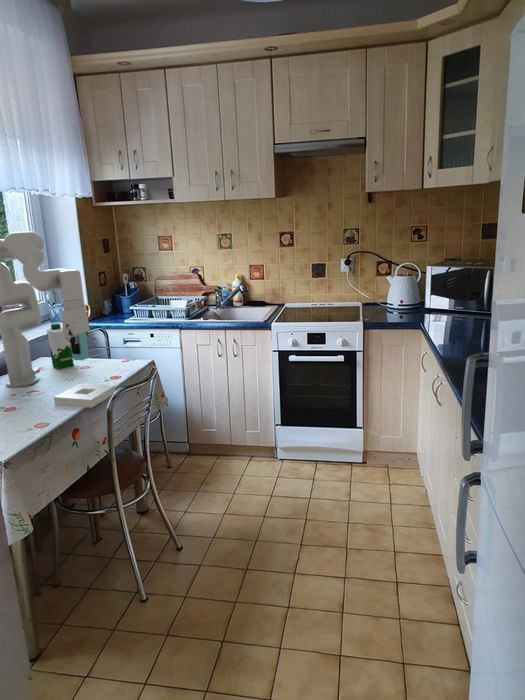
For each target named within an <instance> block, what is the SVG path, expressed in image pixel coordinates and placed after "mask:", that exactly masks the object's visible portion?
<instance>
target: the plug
mask: <svg viewBox="0 0 525 700" xmlns="http://www.w3.org/2000/svg"><path fill="white" fill-rule="evenodd" d="M73 338H74V339H75V337H73ZM87 338H88V336H87V337H86V332H83V333H81V334H79V335H78V343H79V346H80V354H72V356H73V361H84V360H87V359H89V358H90V353H89V346H88V339H87Z"/></svg>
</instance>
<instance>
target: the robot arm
mask: <svg viewBox="0 0 525 700" xmlns="http://www.w3.org/2000/svg"><path fill="white" fill-rule="evenodd" d="M44 246H45V243H44V238H43V237H42V235H41V234H40V233H38V232H36V231H31V230H30V231H15V232H14V231H13V232H11V233H8V234H6V236H4V238H0V307H1V308H2V307H3V308H7V307H13V306H20V305H21V307H19V308H18V307H17V308H11V309H6V310H4V311H1V312H0V338H1V341H2V346H3V352H4V356H5V357H4V358H5V363H6V369H7V375H8V380H7V381H5V386H6V387H8V388H22V387H23V388H24V387H28V386H31V385H33V384H36V383H37V382H38V381H39V378H38V377H37V376H36V375H37V374H38V373H41V369H40V368H39V367H37V368H36V369H33V365H32V360H31V359H32V358H31V351H30V347H29V346H30V345H29V341H28V339H27V338H26V337H25V335H24V334H22V332H24V331H28V330H32V329H36V328H38V327H40V325H41V324H42V323H41V322H42V316H41V311H40V306H39V303H38V298H37V295H36V292H35V291H36V290H38V291H39V292H42V293H43V292H44V293H45V292H51V291H56V290H58V291H59V290H60V296H61V301H62V302H61V303H62V308H63V309H62V310H61V311H62V312H61V322H62V323H61V324H62V326H61V327H63V334H64V335H65V339H66V340H68V341H69V342H70V344H71V349H72V355H73V354H80V346H79V343H78V335H79V334H81V333H83V332H86V337H87V340H88V337H89V333H90V331H91V328H90V323H89V318H88V317H89V316H88V313H87V309H86V305H85V299H84V298H85V297H84V291H83V283H82V275H81V272H80V270H78V269H68V268H63V267H62V268H54V269H53V268H52V269H46V270H40V269H38V268H39V267H41V265H43V263H44V261H45V254H44V252H43V250H44V248H45V247H44ZM13 260H17V261H18V262H20V263H21V264H22V272H23V275H24V278H25V280H26V281H24V280H18V281H14V279H13V274H12V272H11V270H10V268H9V267H8V266H7V265H6V264H5V263H3V261H13ZM73 337H75V339H74V338H73Z"/></svg>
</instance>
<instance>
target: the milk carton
mask: <svg viewBox="0 0 525 700" xmlns="http://www.w3.org/2000/svg"><path fill="white" fill-rule="evenodd" d="M46 333H47V338H48V343H49V350H50V351H49V352H50V357H51V363H52V367H53V368H56V369H58V370H63V369H67V368H71V367H74V366H75V363H74V359H73V354H72V348H71V344H70V342H69V341H68V340H66V339H65V335H64V334H63V326H61V324H60V323H58V322H57V323H52V324H50V328H48V329H46Z"/></svg>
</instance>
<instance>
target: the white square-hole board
mask: <svg viewBox="0 0 525 700" xmlns="http://www.w3.org/2000/svg"><path fill="white" fill-rule="evenodd" d="M115 391H116V386H115V385H107V384H92V383H91V384H90V383H78V384H76V385H75V386H72V387H70V388H69V389H67V390H65V391H63V392H61V393H59V394H57V395H55V396H54V397H53V400H54V405H55V406H56V405H57V406H66V405H67V407H69V406H70V407H78V406H80V407H81V408H94V407H95V406H97V405H98V404H101V403H102V402H103V401H106V399H108V398H110V397H112V396H113V395H114V394H113V393H114V392H115ZM112 394H113V395H112Z"/></svg>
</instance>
